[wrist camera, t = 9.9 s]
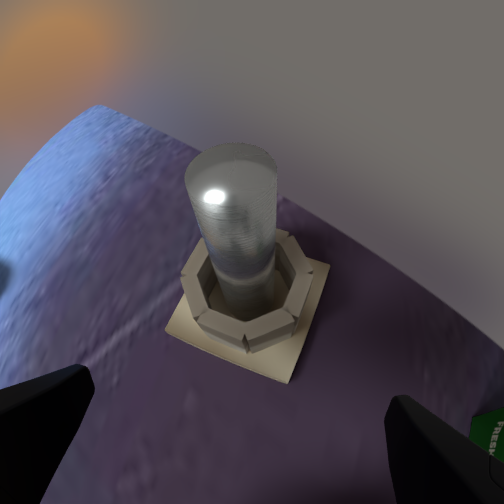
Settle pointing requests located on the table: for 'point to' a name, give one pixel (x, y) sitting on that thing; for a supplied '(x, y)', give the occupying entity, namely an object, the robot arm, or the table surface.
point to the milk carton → (489, 432)
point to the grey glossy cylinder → (238, 222)
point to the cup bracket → (257, 330)
